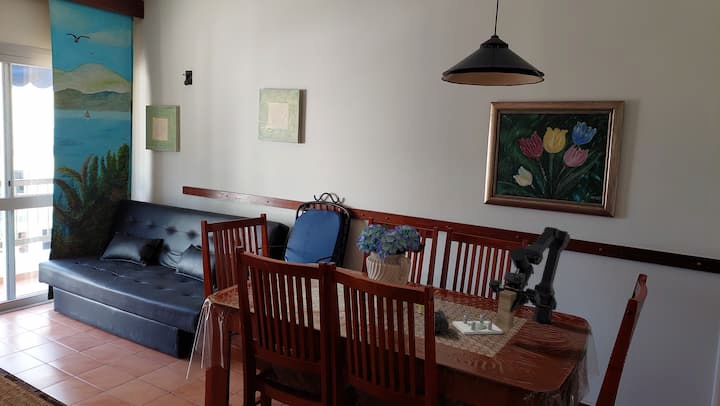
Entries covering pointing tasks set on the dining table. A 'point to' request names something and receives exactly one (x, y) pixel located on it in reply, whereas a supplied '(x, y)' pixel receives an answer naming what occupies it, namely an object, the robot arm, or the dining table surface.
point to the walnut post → (506, 309)
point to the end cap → (441, 323)
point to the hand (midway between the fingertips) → (504, 310)
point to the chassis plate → (477, 326)
